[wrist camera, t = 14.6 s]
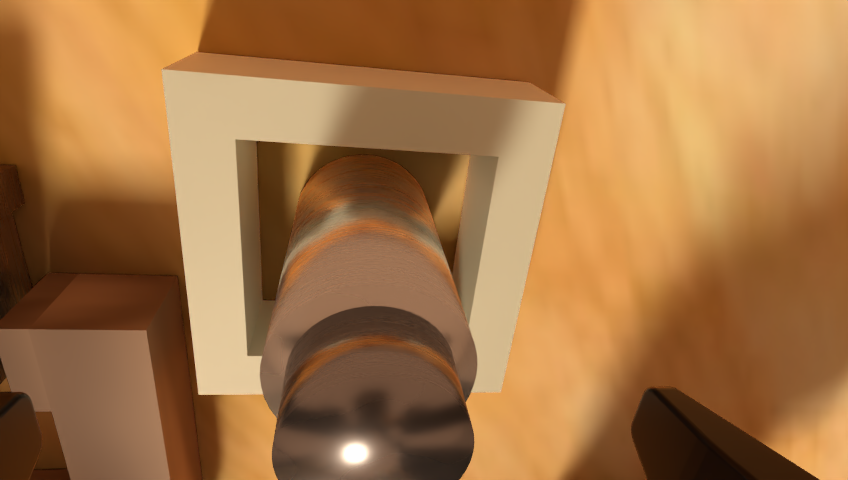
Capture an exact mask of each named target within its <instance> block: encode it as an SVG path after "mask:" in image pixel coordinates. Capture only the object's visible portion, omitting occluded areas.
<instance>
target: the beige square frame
mask: <svg viewBox="0 0 848 480" xmlns="http://www.w3.org/2000/svg"><path fill="white" fill-rule="evenodd" d="M162 77H163V86H164V95H165V104H166V112H167V121H168V130H169V139H170V148H171V157H172V165H173V174H174V183H175V192H176V201H177V209H178V218H179V227H180V236H181V245H182V254H183V262H184V271H185V280H186V289H187V298H188V306H189V315H190V324H191V333H192V342H193V351H194V359H195V368H196V377H197V386H198V395H239V394H263V392H262V388H261V382H260V364H261V359H262V355H263V350H264V346H265V342H266V337H267V333H268V329H269V325H270V320H271V316H272V312H273V307H274V303H275V300H263V298H262V271H261V244H260V218H259V191H258V165H257V141H268V142H283V143H298V144H313V145H328V146H343V147H358V148H373V149H388V150H403V151H418V152H433V153H449V154H464V155H470V160H469V167H468V173H467V180H466V187H465V193H464V200H463V206H462V213H461V220H460V226H459V233H458V240H457V246H456V253H455V260H454V266H453V273H452V278H453V281H454V284H455V287H456V290H457V293H458V296H459V299H460V301H461V304H462V307H463V310H464V313H465V316H466V319H467V322H468V325H469V328H470V331H471V334H472V337H473V340H474V343H475V347H476V352H477V364H478V366H477V374H476V379H475V382H474V386H473V388H472V391H471V392H501V389H502V385H503V380H504V376H505V372H506V367H507V363H508V358H509V354H510V349H511V345H512V340H513V336H514V331H515V327H516V323H517V318H518V314H519V309H520V305H521V300H522V296H523V291H524V287H525V282H526V278H527V274H528V269H529V265H530V260H531V256H532V251H533V247H534V242H535V238H536V233H537V229H538V225H539V220H540V216H541V211H542V207H543V202H544V198H545V193H546V189H547V184H548V180H549V176H550V171H551V167H552V162H553V158H554V153H555V149H556V144H557V140H558V136H559V131H560V127H561V122H562V118H563V113H564V109H565V103H564V102H562V101H560V100H559V99H557V98H555V97H554V96H552V95H550V94H549V93H547V92H545V91H543V90H542V89H540V88H538V87H537V86H535V85H533V84H532V83H530V82H522V81H511V80H500V79H489V78H478V77H467V76H456V75H445V74H434V73H423V72H412V71H401V70H390V69H379V68H368V67H357V66H346V65H335V64H324V63H313V62H302V61H291V60H280V59H269V58H258V57H247V56H236V55H226V54H215V53H204V52H196V53H194V54H192V55H190V56H187V57H185V58H183V59H181V60H179V61H177V62H175V63H173V64H171V65H169V66H167V67H165V68H163V69H162Z"/></svg>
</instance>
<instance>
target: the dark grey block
mask: <svg viewBox="0 0 848 480" xmlns="http://www.w3.org/2000/svg"><path fill="white" fill-rule="evenodd" d="M23 204H25V202H24V198H23V194H22V190H21V186H20V182H19V178H18V174H17V170H16V166H15V165H5V164H0V320H1V319H2V318H3V317H4V316H5V315H6V314H7V313H8V312H9V311H10V310H11V309H12V308H13V307H14V306H15V305H16V304H17V303H18V302H19V301H20V300H21V299H22V298H23V297H24V296H25V295H26V294H27V293H28V292H29V291H30V290H31V289H32V286H31V282H30V278H29V274H28V271H27V267H26V263H25V259H24V256H23V252H22V248H21V245H20V241H19V237H18V233H17V230H16V226H15V222H14V218H13V215H12V212H13V211H15V210H16V209H17V208H19V207H20V206H22V205H23ZM5 378H6V374H5V371H4V367H3V364H2V361H1V358H0V384H1V383H2V382H3V381H4V379H5Z"/></svg>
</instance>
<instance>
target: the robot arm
mask: <svg viewBox="0 0 848 480" xmlns="http://www.w3.org/2000/svg"><path fill="white" fill-rule="evenodd" d="M631 433H632V438H633V442H634V445H635V447H636V450H637V453H638V456H639V458H640V461H641V464H642V467H643V470H644V472H645V475H646V478H647V480H819V479H818V478H816V477H815V476H813V475H811V474H810V473H808V472H807V471H805V470H804V469H802V468H800V467H799V466H797V465H796V464H794V463H793V462H791V461H789V460H788V459H786V458H785V457H783V456H782V455H780V454H778V453H777V452H775V451H774V450H772V449H770V448H769V447H767V446H766V445H764V444H763V443H761V442H759V441H758V440H756V439H755V438H753V437H752V436H750V435H748V434H747V433H745V432H744V431H742V430H741V429H739V428H737V427H736V426H734V425H733V424H731V423H730V422H728V421H726V420H725V419H723V418H722V417H720V416H719V415H717V414H715V413H714V412H712V411H711V410H709V409H708V408H706V407H704V406H703V405H701V404H700V403H698V402H697V401H695V400H693V399H692V398H690V397H689V396H687V395H686V394H684V393H682V392H681V391H679V390H678V389H676V388H673V387H649V388H647V389H646V390H645V391H644V393H643V395H642V398H641V401H640V403H639V406H638V408H637V411H636V414H635V416H634V419H633V421H632V426H631ZM41 448H42V433H41V430H40V427H39V423H38V420H37V417H36V413H35V410H34V407H33V403H32V400H31V398H30V397H29V396H28V395H27V394H26V393H24V392H0V480H29V479H30V477H31V474H32V472H33V469H34V467H35V465H36V462H37V460H38V457H39V455H40V452H41Z"/></svg>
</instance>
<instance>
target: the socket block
mask: <svg viewBox="0 0 848 480" xmlns="http://www.w3.org/2000/svg"><path fill="white" fill-rule="evenodd" d="M0 358H1V361H2V364H3V367H4V371H5V374H6V377H7V380H8V383H9V386H10V389H11V392H24V393H26V394H27V395H28V396H29V397H30V398H31V400H32V403H33V407H34V410H35V412H48V411H51V412H52V415H53V419H54V422H55V426H56V429H57V433H58V437H59V440H60V444H61V447H62V451H63V454H64V458H65V461H66V465H67V468H68V469H53V470H33V472H32V474H31V477H30V479H29V480H202V473H201V465H200V457H199V448H198V440H197V432H196V424H195V415H194V407H193V399H192V390H191V382H190V374H189V365H188V357H187V349H186V341H185V332H184V324H183V316H182V307H181V299H180V291H179V283H178V276H162V275H123V274H84V273H48V274H47V275H46V276H45V277H44V278H43V279H42V280H41V281H39V282H38V283H37V284H36V285H35V286H34V287H33V288H32V289H31V290H30V291H29V292H28V293H27V294H26V295H25V296H24V297H23V298H22V299H21V300H20V301H19V302H18V303H17V304H16V305H15V306H14V307H13V308H12V309H11V310H10V311H9V312H8V313H7V314H6V315H5V316H4V317H3V318H2V319H1V320H0Z"/></svg>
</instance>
